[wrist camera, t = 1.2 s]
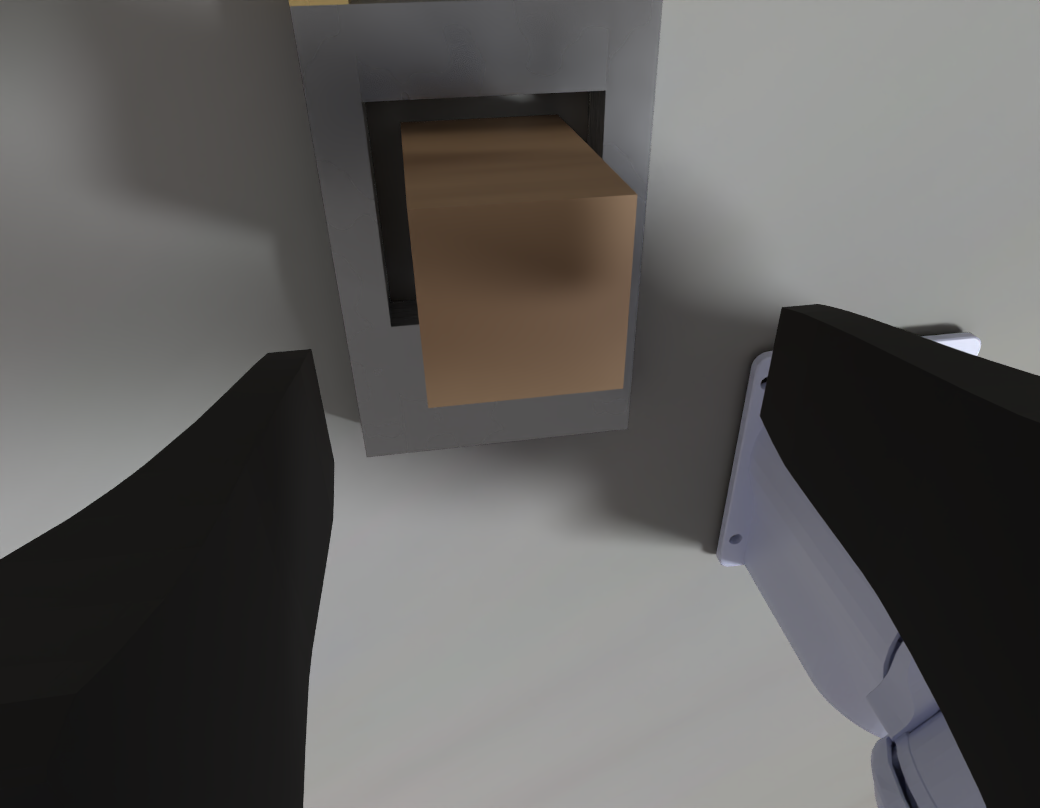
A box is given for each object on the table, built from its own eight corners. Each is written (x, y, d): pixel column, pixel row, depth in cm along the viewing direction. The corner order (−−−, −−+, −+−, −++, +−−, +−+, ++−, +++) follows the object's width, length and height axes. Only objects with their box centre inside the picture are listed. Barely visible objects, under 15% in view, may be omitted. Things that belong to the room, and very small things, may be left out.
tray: (614, 401, 23) (627, 429, 22) (368, 426, 22) (366, 457, 21) (672, -474, 13) (705, -522, 12) (214, -499, 12) (193, -553, 11)
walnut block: (555, 262, 20) (623, 388, 15) (416, 272, 20) (428, 408, 14) (557, 114, 18) (637, 194, 12) (400, 122, 18) (406, 209, 12)
